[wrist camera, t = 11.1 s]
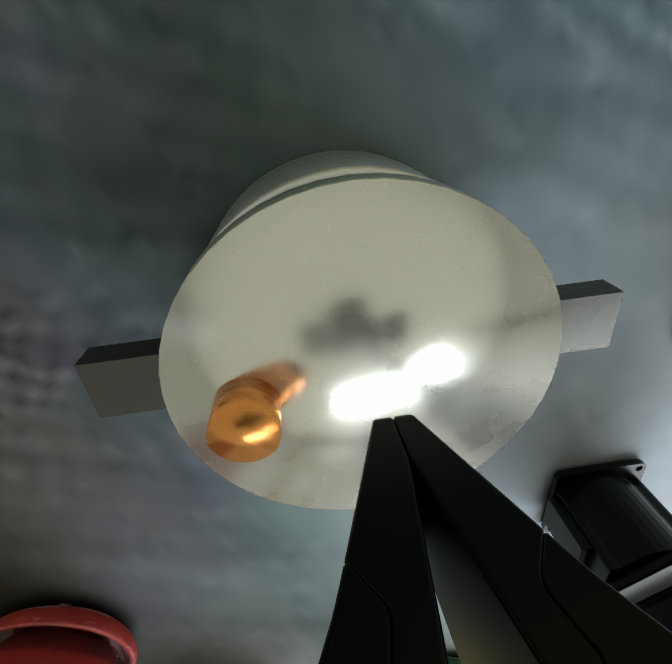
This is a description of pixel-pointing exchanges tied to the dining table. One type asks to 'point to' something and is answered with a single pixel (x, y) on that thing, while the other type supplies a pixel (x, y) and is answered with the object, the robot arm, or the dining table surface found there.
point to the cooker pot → (143, 356)
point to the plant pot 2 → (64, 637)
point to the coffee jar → (454, 660)
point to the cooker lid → (356, 333)
